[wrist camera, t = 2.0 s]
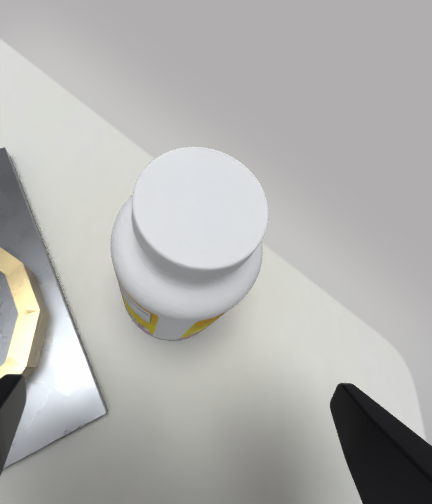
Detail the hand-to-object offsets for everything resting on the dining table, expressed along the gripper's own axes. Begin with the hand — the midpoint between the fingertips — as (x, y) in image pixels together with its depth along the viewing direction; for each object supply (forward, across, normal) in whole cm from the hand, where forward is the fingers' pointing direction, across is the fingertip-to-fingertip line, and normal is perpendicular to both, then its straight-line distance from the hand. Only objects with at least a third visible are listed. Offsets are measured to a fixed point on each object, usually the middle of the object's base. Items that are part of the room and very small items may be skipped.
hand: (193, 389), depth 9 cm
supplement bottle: (+13, 0, +5) cm, 14 cm away
